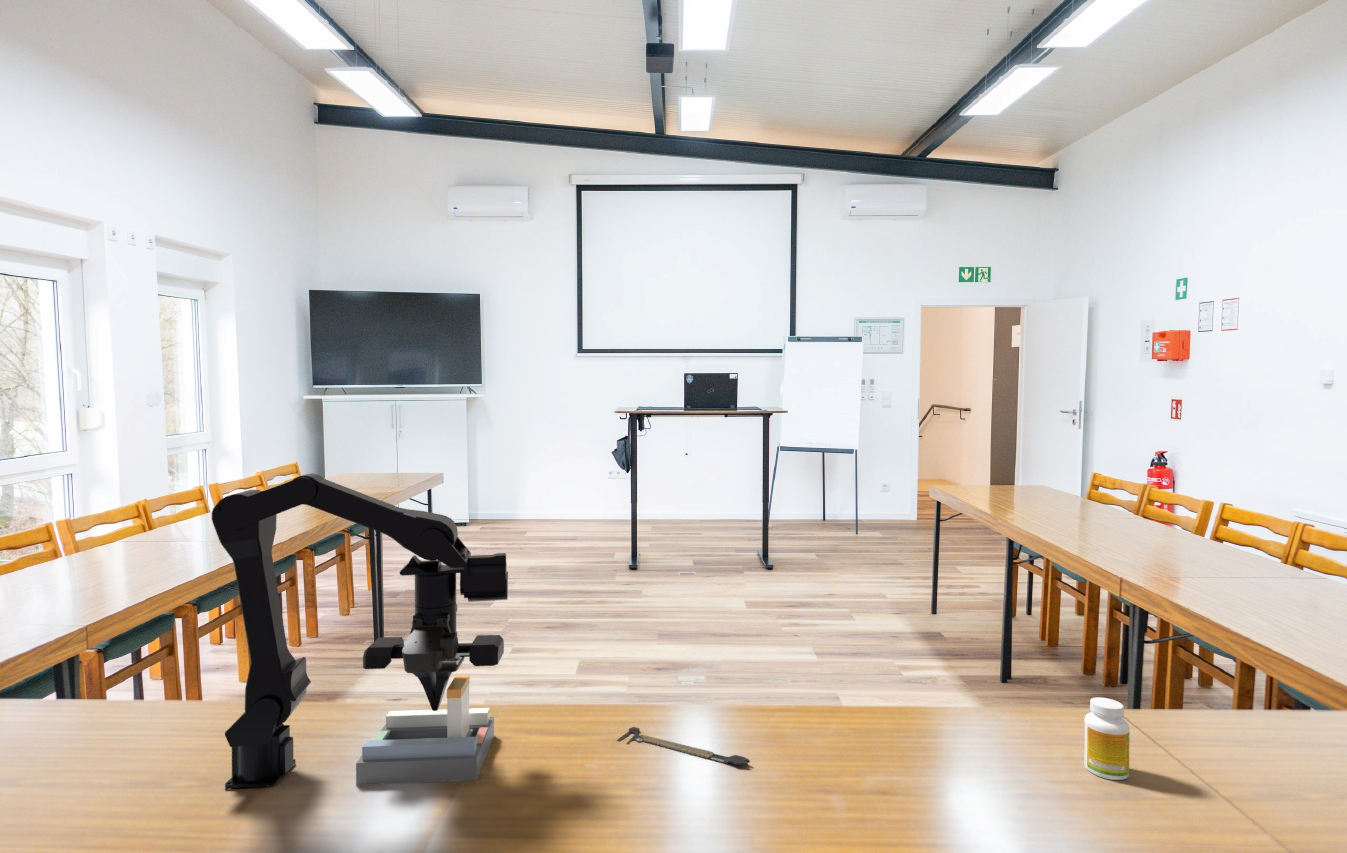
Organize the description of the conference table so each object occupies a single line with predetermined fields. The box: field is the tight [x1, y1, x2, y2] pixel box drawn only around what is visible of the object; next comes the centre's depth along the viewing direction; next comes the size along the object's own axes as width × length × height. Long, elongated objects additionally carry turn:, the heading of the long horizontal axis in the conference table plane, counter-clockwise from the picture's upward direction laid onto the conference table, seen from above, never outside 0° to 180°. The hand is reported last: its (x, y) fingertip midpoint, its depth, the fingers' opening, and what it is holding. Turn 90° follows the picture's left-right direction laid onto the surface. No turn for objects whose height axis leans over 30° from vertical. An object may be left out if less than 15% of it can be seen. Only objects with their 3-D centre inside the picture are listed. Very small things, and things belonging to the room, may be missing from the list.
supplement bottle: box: [1083, 696, 1131, 781], centre depth 96 cm, size 5×5×10 cm
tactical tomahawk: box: [616, 726, 751, 766], centre depth 100 cm, size 21×7×1 cm, turn 59°
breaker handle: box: [446, 674, 473, 738], centre depth 99 cm, size 3×5×9 cm, turn 5°
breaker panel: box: [355, 707, 495, 786], centre depth 99 cm, size 16×13×5 cm
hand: (435, 709), depth 99 cm, fingers closed
